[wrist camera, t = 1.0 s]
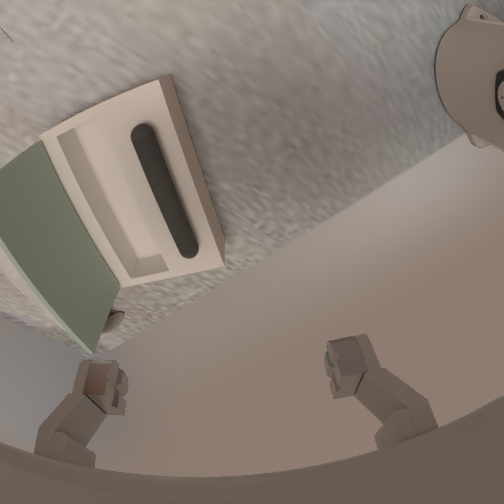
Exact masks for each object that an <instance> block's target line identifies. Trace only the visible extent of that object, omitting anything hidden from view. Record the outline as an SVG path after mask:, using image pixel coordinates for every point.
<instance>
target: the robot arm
mask: <svg viewBox="0 0 504 504" xmlns="http://www.w3.org/2000/svg"><path fill="white" fill-rule="evenodd" d="M480 17H481V19H480ZM435 70H436V81H437V87H438V91H439V94H440V97H441V100H442V102H443V104H444V106H445V108H446V110H447V112H448V113H449V114H450V116H451V117H452V118H453V119H454V120H455V121H456V122H457V123H458V124H459V125H461V126H462V127H463V128H464V129H465V131H466V133H467V135H468V138H469V140H470V141H471V143H472V144H473V145H474V146H476V147H478V148H483V147H485V146H488V145H492V146H494V147H496V148H498V149H499V150H501V151H503V152H504V21H502V20H500V19H498V18H497V17H495V16H493V15H491V14H490V13H488V12H486V11H484V10H482V9H480V8H478V7H476V6H472V5H467V6H466V7H465V8H464V10H463V12H462V15H461V18H460V20H459V21H458V22H457V23H456V24H454V25H453V26H452V27H451V28H449V29H448V31H447V32H446V33H445V34H444V36H443V38H442V40H441V42H440V44H439V47H438V51H437V56H436V69H435ZM327 350H328V351H327V352H326V353H325V357H324V361H325V369H326V373H327V375H328V376H329V377H330V378H331V382H330V388H331V391H332V395H333V399H337V398H342V397H347V396H352V395H354V396H355V397H356V398H357V399H358V400H359V401H360V402H361V403H362V404H363V405H364V406H365V407H366V408H367V409H368V410H369V411H370V412H371V413H372V414H373V415H374V416H376V418H378V419H379V420H380V421H381V422H382V423H383V426H382V427H381V428H380V429H379V430H378V432H377V433H376V434H375V436H374V437H375V441H376V444H377V448H378V450H376V451H373V452H369V453H366V454H363V455H359V456H355V457H351V458H347V459H343V460H339V461H334V462H330V463H326V464H321V465H315V466H310V467H305V468H299V469H293V470H286V471H279V472H271V473H263V474H252V475H239V476H221V477H172V476H155V475H142V474H132V473H124V472H116V471H109V470H103V469H97V468H95V458H96V455H95V453H94V452H93V451H91V450H89V449H87V448H86V446H87V444H88V442H89V441H90V440H91V438H92V437H93V435H94V434H95V432H96V431H97V429H98V428H99V426H100V425H101V423H102V422H103V420H104V419H105V418H106V416H107V415H106V414H109V415H124V413H125V406H126V400H125V398H124V397H123V396H124V395H125V394H126V393H127V390H128V378H127V376H126V373H125V372H124V371H123V370H121V369H120V368H119V364H118V363H117V361H116V360H82V361H81V362H80V364H79V368H78V372H77V375H76V379H75V383H74V387H73V391H72V393H69V394H68V395H67V396H66V398H65V399H64V400H63V401H62V402H61V403H60V404H59V405H58V406H57V407H56V409H55V410H54V411H53V412H52V413H51V414H50V415H49V416H48V417H47V419H46V420H45V421H44V422H43V423H42V424H41V425H40V426H39V429H38V434H37V439H36V444H35V449H34V454H33V453H30V452H27V451H24V450H21V449H18V448H15V447H12V446H9V445H6V444H4V443H1V442H0V504H504V396H501V397H499V398H497V399H495V400H493V401H492V402H490V403H488V404H486V405H484V406H482V407H481V408H479V409H477V410H475V411H473V412H471V413H469V414H467V415H465V416H463V417H461V418H459V419H457V420H455V421H452V422H450V423H448V424H446V425H444V426H441V427H439V428H438V425H437V423H436V420H435V417H434V415H433V412H432V410H431V407H430V405H429V402H428V400H427V399H426V398H425V397H424V396H422V395H421V394H419V393H418V392H416V391H415V390H414V389H413V388H411V387H410V386H409V385H407V384H406V383H404V382H403V381H402V380H400V379H399V378H398V377H396V376H395V375H394V374H392V373H391V372H390V371H388V370H387V369H386V368H382V369H381V366H380V364H379V361H378V359H377V356H376V354H375V351H374V349H373V346H372V344H371V342H370V339H369V337H368V336H367V334H361V335H357V336H350V337H345V338H341V339H336V340H331V341H328V342H327Z"/></svg>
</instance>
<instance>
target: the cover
mask: <svg viewBox="0 0 504 504" xmlns="http://www.w3.org/2000/svg"><path fill="white" fill-rule="evenodd" d="M0 246H1V248H2V249H3V251H4V252H5V254H6V255H7V257H8V258H9V260H10V261H11V263H12V264H13V265H14V267H15V268H16V270H17V271H18V272H19V274H20V275H21V277H22V278H23V279H24V281H25V282H26V283H27V284H28V286H29V287H30V288H31V290H32V291H33V292H34V293H35V295H36V296H37V297H38V299H39V300H40V301H41V302H42V303H43V305H44V306H45V307H46V308H47V309H48V311H49V312H50V313H51V314H52V315H53V316H54V318H55V319H56V320H57V321H58V322H59V323H60V324H61V326H62V327H63V328H64V329H65V330H66V331H67V332H68V333H69V334H70V335H71V336H72V337H73V339H74V340H75V341H76V342H77V343H78V344H79V345H80V346H81V347H82V348H83V349H84V350H85V351H86V352H87V353H88V354H94V352H95V349H96V347H97V344H98V341H99V339H100V336H101V333H102V331H103V328H104V325H105V323H106V320H107V318H108V315H109V313H110V310H111V308H112V305H113V303H114V301H115V298H116V296H117V293H118V291H119V289H120V285H119V283H118V282H117V280H116V279H115V277H114V276H113V274H112V273H111V271H110V270H109V268H108V267H107V265H106V263H105V262H104V260H103V259H102V257H101V255H100V254H99V252H98V250H97V249H96V247H95V245H94V244H93V242H92V240H91V239H90V237H89V235H88V234H87V232H86V230H85V228H84V227H83V225H82V223H81V221H80V220H79V218H78V216H77V214H76V212H75V210H74V209H73V207H72V205H71V203H70V201H69V199H68V197H67V195H66V193H65V191H64V190H63V188H62V186H61V184H60V182H59V180H58V178H57V175H56V173H55V171H54V169H53V167H52V165H51V163H50V161H49V159H48V156H47V154H46V152H45V150H44V147H43V145H42V143H41V141H39V142H37V143H35V144H34V145H32V146H31V147H29V148H28V149H27V150H25V151H24V152H23V153H21V154H20V155H18V156H17V157H16V158H14V159H13V160H12V161H10V162H9V163H8V164H7V165H5V166H4V167H3V168H2V169H0Z"/></svg>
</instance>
